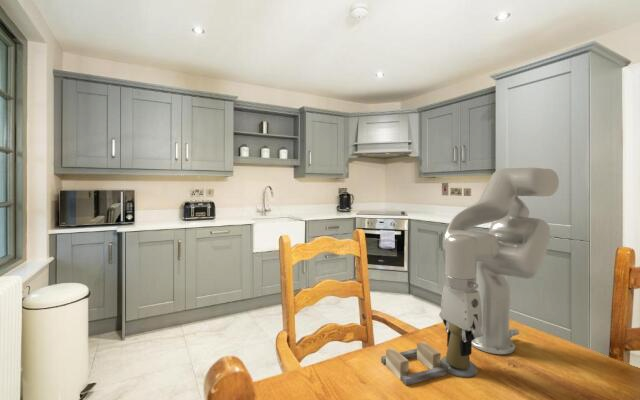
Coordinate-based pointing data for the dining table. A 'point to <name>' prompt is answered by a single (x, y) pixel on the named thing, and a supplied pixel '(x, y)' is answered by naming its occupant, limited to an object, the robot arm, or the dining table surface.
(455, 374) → the coaster
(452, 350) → the pepper mill
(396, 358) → the grey and cream frame
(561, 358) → the dining table surface
